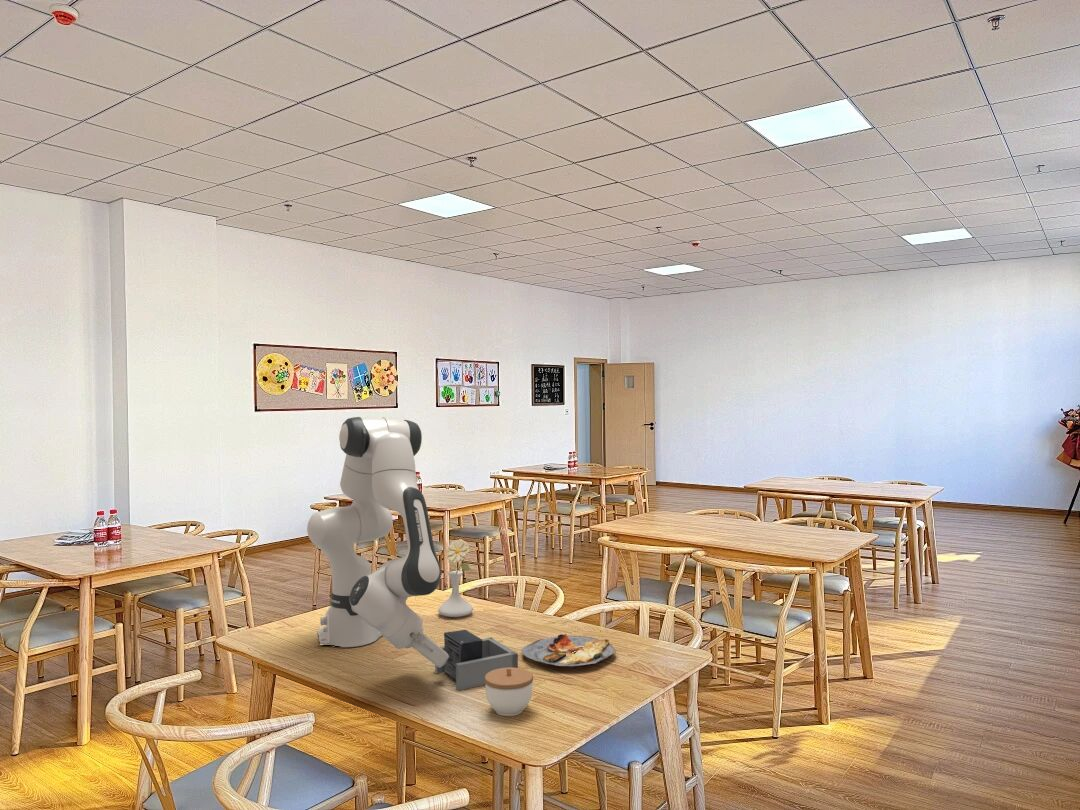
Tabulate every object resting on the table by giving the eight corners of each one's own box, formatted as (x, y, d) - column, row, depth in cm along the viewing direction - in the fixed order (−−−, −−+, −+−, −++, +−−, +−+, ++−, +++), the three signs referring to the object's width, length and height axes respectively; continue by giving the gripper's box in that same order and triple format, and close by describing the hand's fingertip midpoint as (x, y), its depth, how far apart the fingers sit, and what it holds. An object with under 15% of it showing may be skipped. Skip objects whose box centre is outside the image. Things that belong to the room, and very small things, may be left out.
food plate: (558, 637, 217) (558, 625, 217) (629, 652, 203) (629, 639, 203) (506, 662, 196) (506, 649, 196) (581, 680, 183) (581, 666, 183)
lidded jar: (481, 703, 169) (481, 662, 169) (527, 698, 171) (527, 658, 171) (489, 723, 158) (488, 679, 158) (538, 717, 161) (537, 674, 161)
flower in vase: (431, 615, 241) (430, 538, 241) (459, 608, 248) (458, 533, 248) (455, 623, 231) (453, 543, 231) (483, 616, 239) (482, 538, 239)
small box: (484, 681, 182) (484, 639, 182) (460, 687, 179) (459, 643, 179) (466, 668, 191) (466, 628, 191) (443, 673, 188) (442, 632, 188)
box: (435, 671, 190) (434, 647, 190) (491, 659, 198) (491, 637, 198) (458, 690, 177) (458, 665, 177) (518, 677, 185) (517, 653, 185)
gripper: (429, 629, 170) (468, 664, 175) (399, 608, 188) (435, 640, 193) (410, 652, 168) (451, 686, 173) (382, 628, 185) (419, 660, 190)
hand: (443, 662), depth 183 cm, fingers closed
